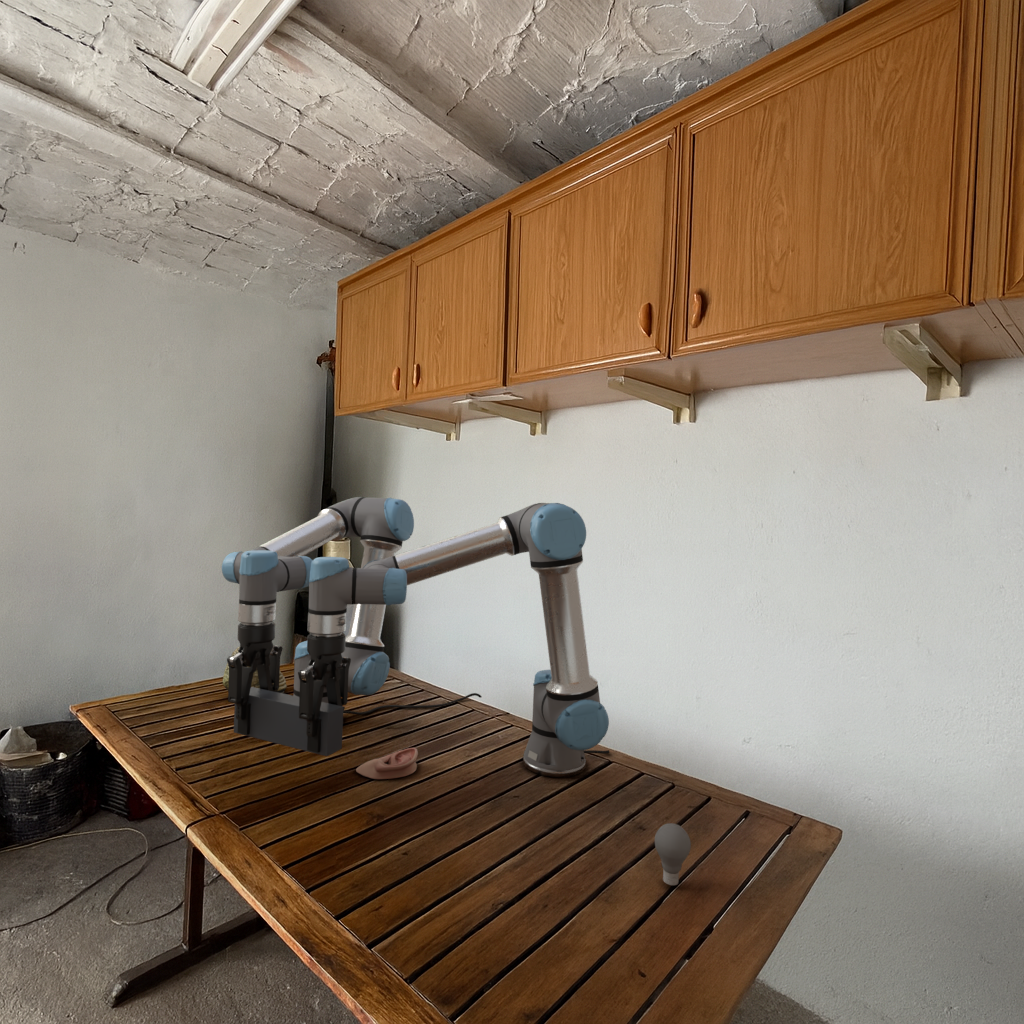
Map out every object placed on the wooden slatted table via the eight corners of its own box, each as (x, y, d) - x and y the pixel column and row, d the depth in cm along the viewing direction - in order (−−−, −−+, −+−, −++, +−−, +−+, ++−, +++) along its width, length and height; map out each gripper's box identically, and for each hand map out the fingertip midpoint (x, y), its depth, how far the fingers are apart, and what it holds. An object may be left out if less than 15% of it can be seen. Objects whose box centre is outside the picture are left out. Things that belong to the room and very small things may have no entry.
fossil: (218, 695, 195) (220, 647, 195) (278, 685, 208) (279, 640, 207) (228, 703, 189) (230, 653, 188) (289, 692, 201) (290, 645, 201)
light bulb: (648, 873, 111) (650, 816, 111) (681, 872, 111) (684, 816, 111) (659, 894, 105) (661, 834, 105) (694, 894, 105) (697, 834, 105)
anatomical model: (350, 758, 144) (371, 740, 155) (349, 775, 144) (371, 756, 155) (405, 766, 141) (423, 746, 152) (405, 783, 141) (422, 763, 152)
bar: (233, 732, 136) (234, 692, 136) (250, 725, 141) (251, 686, 140) (327, 756, 126) (328, 712, 126) (342, 748, 130) (343, 706, 130)
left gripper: (237, 631, 127) (233, 746, 128) (299, 618, 143) (295, 720, 144) (210, 626, 130) (206, 739, 131) (274, 614, 146) (270, 714, 147)
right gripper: (311, 643, 120) (306, 766, 120) (368, 628, 136) (364, 735, 136) (280, 638, 123) (276, 758, 123) (340, 623, 139) (336, 729, 139)
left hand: (253, 729), depth 137 cm, fingers closed on bar, 5 cm apart
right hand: (322, 746), depth 130 cm, fingers closed on bar, 5 cm apart
